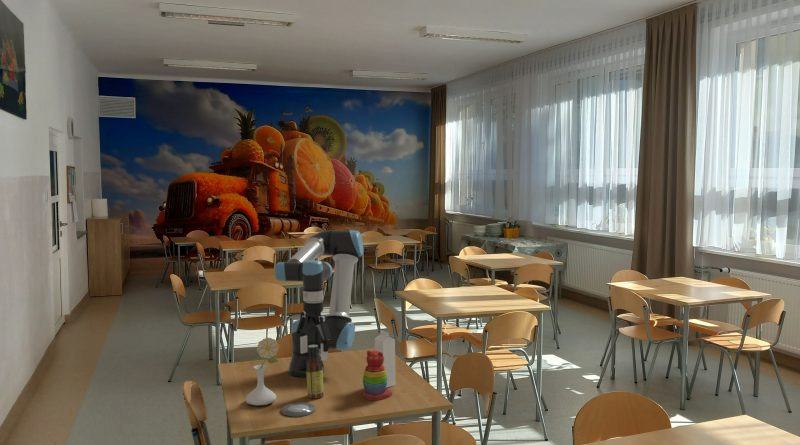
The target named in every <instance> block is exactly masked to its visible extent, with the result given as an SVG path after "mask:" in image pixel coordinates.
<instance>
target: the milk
mask: <svg viewBox="0 0 800 445" xmlns="http://www.w3.org/2000/svg"><path fill="white" fill-rule="evenodd" d="M379 332H380V334H378V335H377V336H376V337H375V338H374V351H379V352H382V353H383V356H384V361H383V364H382V365H383V366H384V367H385V370H386V375H387V386H386V389H387V388H391V387H394V386H396V339H394V338H392V337H390V332H387V331H384V330H379Z"/></svg>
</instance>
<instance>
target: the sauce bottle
mask: <svg viewBox="0 0 800 445" xmlns="http://www.w3.org/2000/svg"><path fill="white" fill-rule="evenodd" d="M308 354H309V356H308V357H309V358H308V360H307V363H306V376H307V377H306V388H307V389H306V391H307V392H306V393H307V397H308V398H309V399H321V398H322V397H323V396H324V375H323V374H324V372H323V371H322V365H321V362H320V359H319V357H318V345H309V346H308Z"/></svg>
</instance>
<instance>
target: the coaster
mask: <svg viewBox="0 0 800 445" xmlns="http://www.w3.org/2000/svg"><path fill="white" fill-rule="evenodd" d="M315 411H316V407H315V405H314V404H312V403H309V402H293V403H289V404H285V405H284V406H283V407H281V414H282V413H283V414H284V415H283V414H282V415H283V416H285V415H287V416H286V417H289V416H291V417H292V418H300V417H306V416H309V415H311V414H313V413H315ZM291 417H290V418H291Z"/></svg>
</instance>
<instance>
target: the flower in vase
mask: <svg viewBox="0 0 800 445" xmlns="http://www.w3.org/2000/svg"><path fill="white" fill-rule="evenodd" d="M279 349H280V345H279V344H278V342H277V340H276V339H275V338H272V337H268V336H267V337H266V338H263V339H262V340H259V342H258V344H257V347H256V352H257V354H259V357H261V358H263V359H265V360H264V361H263V362H262V361H260V360H258V359H254V357H253V360H254V361H255V362H259V363H261V364H258V365H257V364H256V365H253V370H254V371H255V373H256V377H257V384H256V387H255V388H254V389H253V390H252V391H251V392H249V393H248V394H247V395H246V397H245V402H246V403H247V404H248V405H252V406H266V405H269V404H271V403H274V402H275V401H276V400H277V394H276V393H274V391H272V390H271V389H269V388H268V387H267V386H266V385H265V383H264V382H265V380H264V378H265V376H264V375H265V371H266V369H267V368H268V366H267V365H266V364H265V363H266V362H267V363H268V364H271V365H272V364H275V363H277V362H278V359H276V358H275V356H276V355H277V354H278V351H279Z"/></svg>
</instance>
